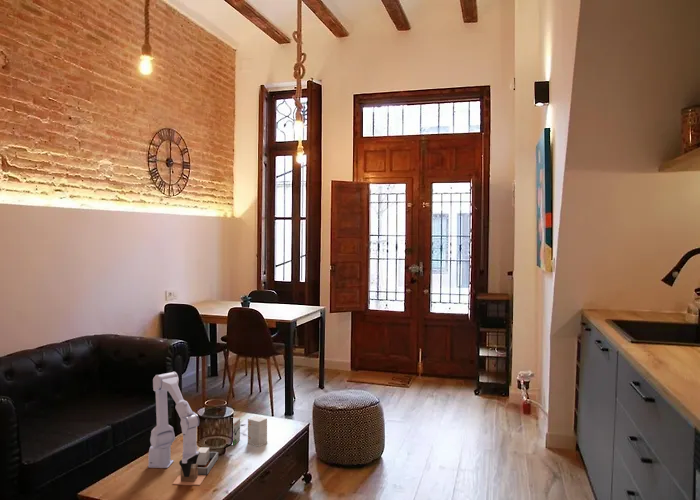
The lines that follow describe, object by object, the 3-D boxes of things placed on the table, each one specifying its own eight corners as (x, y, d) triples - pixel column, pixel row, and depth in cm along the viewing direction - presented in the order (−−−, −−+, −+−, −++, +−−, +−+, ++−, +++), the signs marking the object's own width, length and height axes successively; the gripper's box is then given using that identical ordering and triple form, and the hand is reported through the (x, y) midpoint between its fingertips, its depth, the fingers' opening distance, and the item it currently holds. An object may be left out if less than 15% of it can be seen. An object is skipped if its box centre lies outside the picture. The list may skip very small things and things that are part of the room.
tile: (172, 484, 237) (172, 483, 237) (179, 475, 246) (179, 474, 246) (199, 485, 236) (199, 484, 236) (206, 476, 245) (206, 475, 245)
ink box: (233, 446, 280) (233, 423, 279) (224, 445, 281) (224, 422, 280) (240, 439, 288) (240, 417, 288) (231, 439, 289) (231, 416, 289)
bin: (180, 473, 247) (180, 467, 247) (193, 457, 265) (193, 451, 265) (207, 474, 247) (207, 468, 247) (218, 458, 265) (218, 452, 265)
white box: (196, 464, 257) (196, 452, 257) (200, 459, 263) (200, 447, 263) (205, 465, 257) (205, 452, 257) (209, 459, 263) (209, 447, 263)
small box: (267, 442, 285) (267, 418, 284) (259, 446, 279) (259, 421, 279) (255, 439, 289) (255, 415, 289) (247, 443, 284) (247, 418, 283)
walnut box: (194, 481, 239) (194, 468, 238) (180, 481, 239) (180, 467, 239) (197, 477, 243) (197, 463, 243) (184, 476, 243) (184, 463, 243)
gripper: (193, 449, 233) (193, 480, 233) (203, 436, 247) (203, 465, 248) (177, 448, 233) (177, 479, 234) (188, 436, 248) (188, 465, 248)
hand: (189, 472), depth 241 cm, fingers open, 7 cm apart
